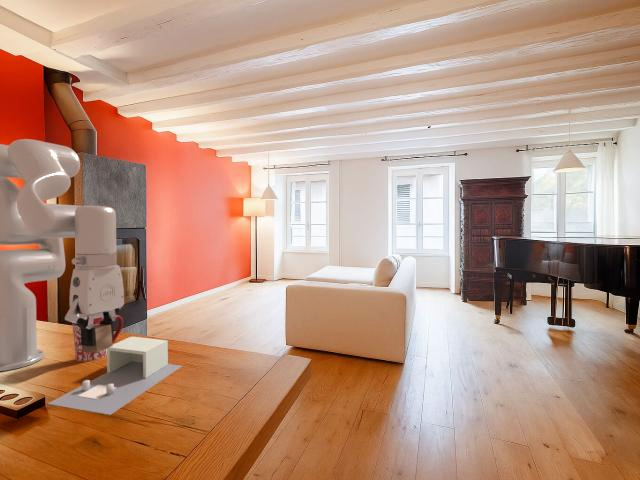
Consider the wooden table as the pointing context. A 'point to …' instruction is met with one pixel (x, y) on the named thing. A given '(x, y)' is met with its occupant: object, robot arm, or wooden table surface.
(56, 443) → the wooden table surface
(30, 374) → the wooden table surface
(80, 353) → the mug
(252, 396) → the wooden table surface
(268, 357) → the wooden table surface
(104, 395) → the base board
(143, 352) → the housing cover
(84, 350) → the block
